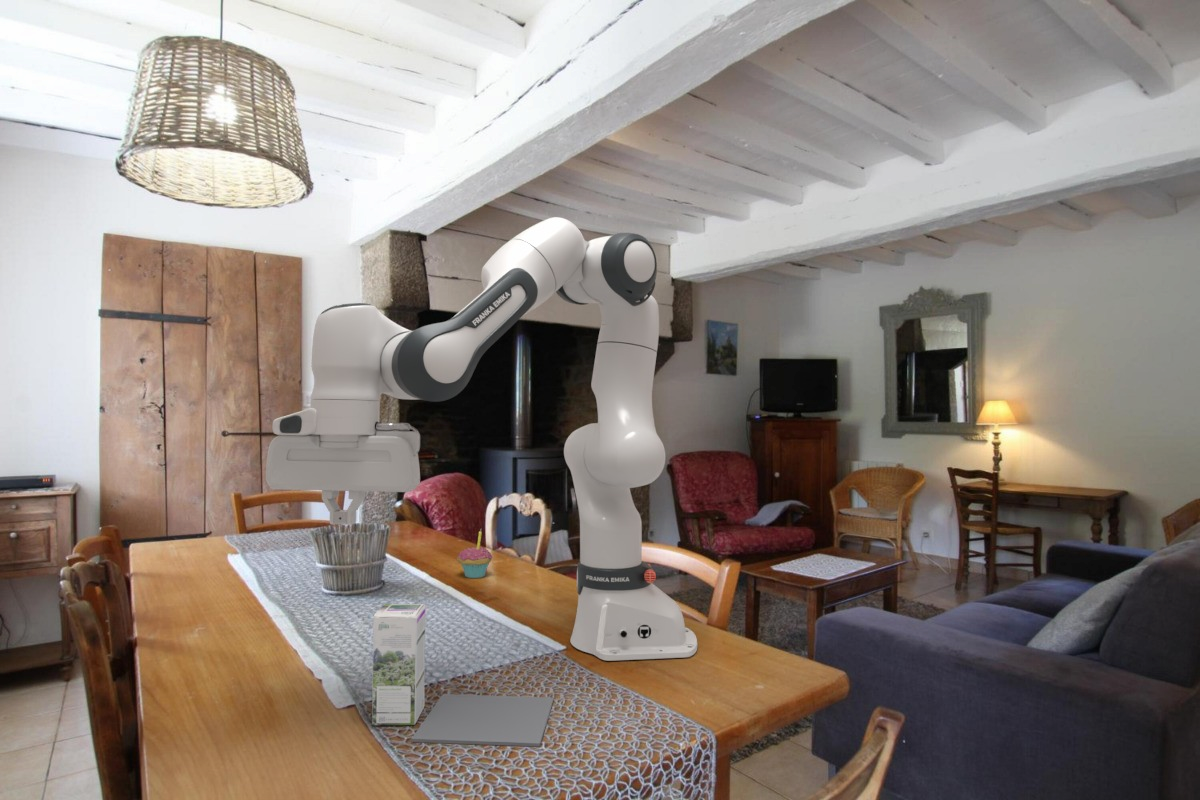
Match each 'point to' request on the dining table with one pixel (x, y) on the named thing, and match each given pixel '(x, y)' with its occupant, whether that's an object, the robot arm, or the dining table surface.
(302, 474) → the robot arm
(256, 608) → the dining table surface
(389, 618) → the syrup box
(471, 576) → the cupcake
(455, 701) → the felt mat
